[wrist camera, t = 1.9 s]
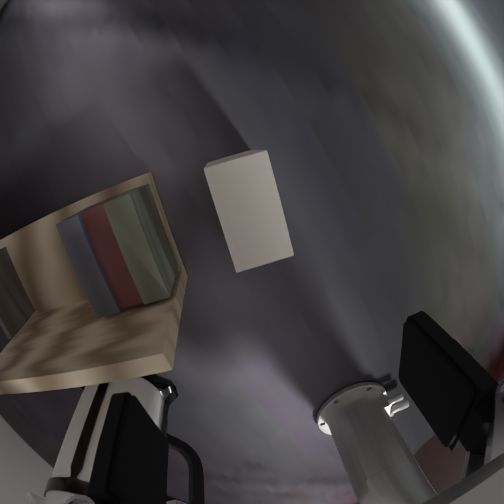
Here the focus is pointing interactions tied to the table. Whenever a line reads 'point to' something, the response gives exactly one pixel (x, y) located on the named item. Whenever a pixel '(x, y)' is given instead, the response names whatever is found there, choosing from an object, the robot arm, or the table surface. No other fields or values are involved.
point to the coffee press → (89, 430)
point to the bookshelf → (91, 292)
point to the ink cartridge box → (175, 502)
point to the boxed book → (249, 209)
